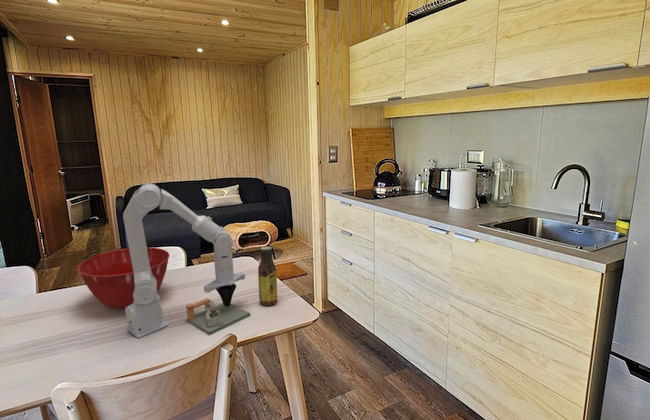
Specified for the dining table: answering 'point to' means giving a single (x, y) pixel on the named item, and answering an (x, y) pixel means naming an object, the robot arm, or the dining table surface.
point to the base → (228, 317)
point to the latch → (212, 320)
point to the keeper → (191, 307)
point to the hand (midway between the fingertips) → (227, 305)
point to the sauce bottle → (267, 278)
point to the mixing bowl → (119, 275)
